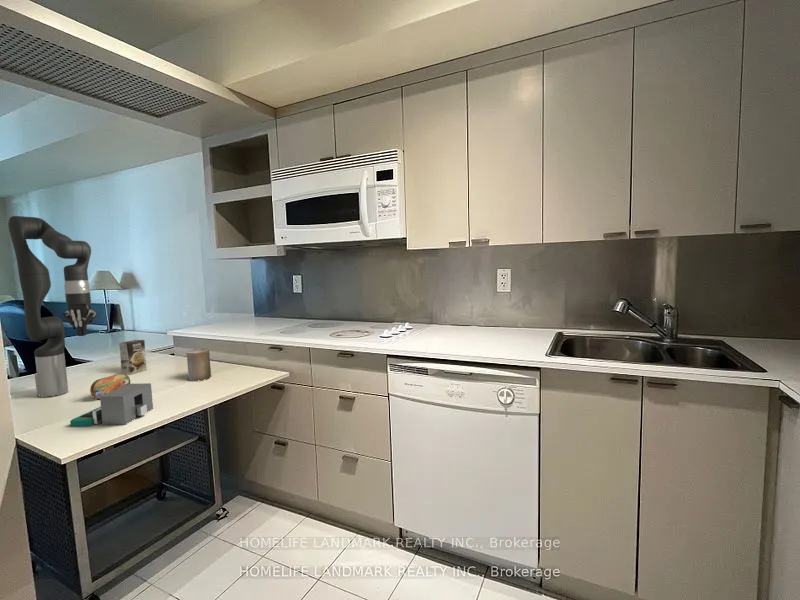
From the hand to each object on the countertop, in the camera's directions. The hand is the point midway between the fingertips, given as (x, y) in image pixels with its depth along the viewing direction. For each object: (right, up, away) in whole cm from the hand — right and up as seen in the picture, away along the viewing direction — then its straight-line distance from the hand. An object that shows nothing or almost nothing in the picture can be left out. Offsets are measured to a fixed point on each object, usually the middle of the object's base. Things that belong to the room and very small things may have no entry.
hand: (82, 335), depth 151 cm
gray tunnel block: (+28, -28, -13) cm, 42 cm away
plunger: (+27, -27, -10) cm, 40 cm away
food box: (-11, -23, +46) cm, 53 cm away
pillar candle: (+30, -24, +33) cm, 50 cm away
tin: (+4, -26, +10) cm, 29 cm away
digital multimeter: (+17, -29, -14) cm, 36 cm away
